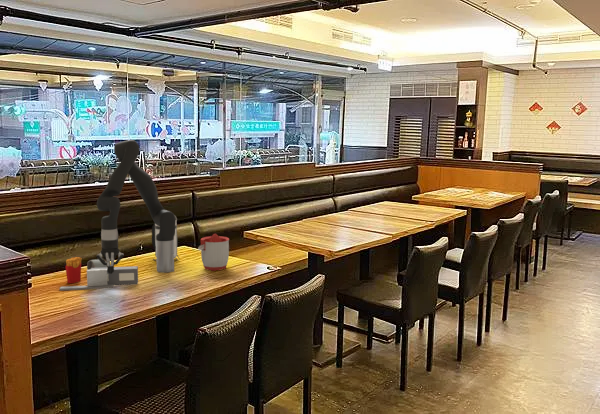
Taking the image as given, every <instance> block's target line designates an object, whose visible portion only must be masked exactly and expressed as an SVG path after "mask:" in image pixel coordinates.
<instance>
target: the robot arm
mask: <svg viewBox="0 0 600 414" xmlns="http://www.w3.org/2000/svg"><path fill="white" fill-rule="evenodd" d="M113 149H114V150H113V151H114V154H115V156H116V158H117V160H118V161H119V162H120V163H119V164H118V166H117V167H116V168H115V170H113V172H112V173H111V175H110V176H109V179H108V181H107V185H106V187H105V189H104V190H103V191H102V193H101V194H100V195H99V196H98V198H97V201H96V207H97V209H98V210H99V211H100V212H109V213H108V214H109V215H105V216H103V217H102V218H101V224H100V225H101V232H100V238H101V239H100V240H101V250H100V253H98V254H96V256H95V257H96V258H97V260H98V259H99V260H100V262H101V263H102V264H103V265H106V266H107V270H108V273H109V274H112V273H113V272H114V267H115V266H116V265H118V264H119V262H120V261H121V260H122V259H123V257H124V253H123V252H120V249H119V231H118V217H119V213H120V209H121V201H120V199H119V197H118V196H119V195H120V194H121V193H122V190H123V187H124V184H125V181H126V178H127V177H128V176H129V177H130V180H131V181H132V182H133V185H134V186H135V188H136V190H137V192H138V193H139V195H140V197H141V199H142V200H143V202H144V204H145V205H146V207H147V209H148V211H149V213H150V214H149V215H150V216H151V218H152V220H153V222H154V223H153V224H156V225H158V226H160V231H159V234H157V235H156V256H155V258H156V272H158V273H164V274H165V273H172V272H173V273H174V272H175V258H174V235H175V216H176V215H175V214H174V212H172V211H170V210H167V209H165V207H163V205H162V203H161V202H160V200H159V194H158V188H157V186H156V183H155V181H154V179H153V178H152V177H151V175H150V174H149V173H148V172H146V171H145V170H144V169H142V168H141V167H140V166H139V165H138V164H137V163H136V160H137V158H138V156H139V155H140V150H141V148H140V145H139V143H138V142H137V141H136V140H134V139H128V140H124V141H120V142H116V143H115V145H114V147H113ZM174 215H175V216H174ZM117 256H118V258H117V259H116V257H117ZM115 259H116V260H115Z"/></svg>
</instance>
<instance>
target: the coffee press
mask: <svg viewBox="0 0 600 414" xmlns="http://www.w3.org/2000/svg"><path fill="white" fill-rule="evenodd" d="M174 216H175V235H174V260H176V261H179V260H178V259H180V257H179V255H178V224H177V221H178V218H177V216H176V215H175V214H174ZM151 226H152V227H151V245H152V248H153V249H154V250H155V251H154V252H155V255H154V257H153V261H155V258H156V235H157V234H159V231H160V226H158V225H156V224H155V223H153V225H151Z"/></svg>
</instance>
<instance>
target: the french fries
mask: <svg viewBox="0 0 600 414" xmlns="http://www.w3.org/2000/svg"><path fill="white" fill-rule="evenodd" d="M65 263H66V265H65V273H66V274H65V275H66V280H67V283H68V284H75V283H79V282H81V281H82V280H81V279H82V278H81V277H82V257H79V256H75V257H70V258H66V260H65Z"/></svg>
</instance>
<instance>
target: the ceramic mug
mask: <svg viewBox="0 0 600 414" xmlns="http://www.w3.org/2000/svg"><path fill="white" fill-rule="evenodd" d="M86 264H87V265H86V271H87V270H90V269H91V268H104V267H107V266H106V265H103V264H102V263H101V262H100V260H99V259H98V258H97V259H90V260H88V261H87V263H86Z"/></svg>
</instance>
